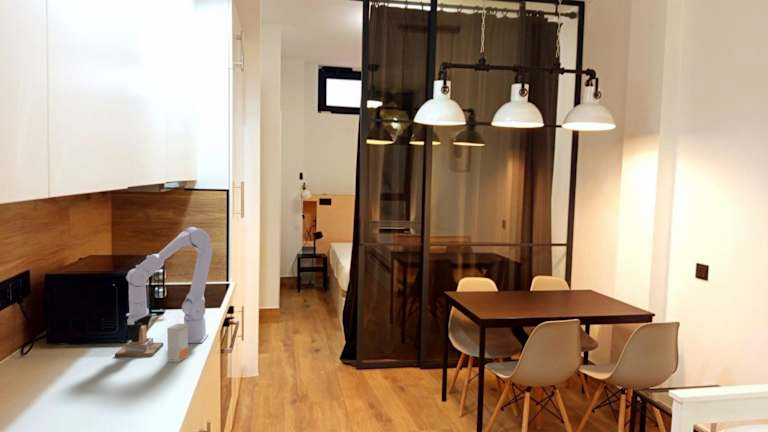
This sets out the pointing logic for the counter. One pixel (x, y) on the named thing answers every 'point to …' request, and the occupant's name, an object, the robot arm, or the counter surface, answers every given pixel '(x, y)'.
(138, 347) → the socket board
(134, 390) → the counter surface
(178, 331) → the skincare box
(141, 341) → the peg
